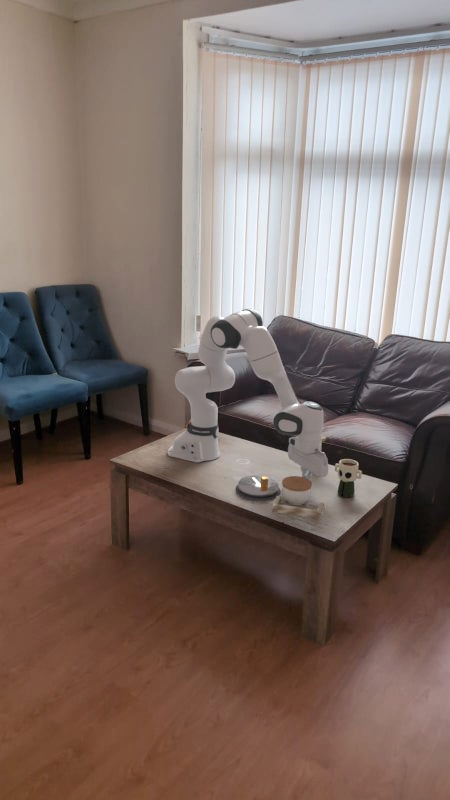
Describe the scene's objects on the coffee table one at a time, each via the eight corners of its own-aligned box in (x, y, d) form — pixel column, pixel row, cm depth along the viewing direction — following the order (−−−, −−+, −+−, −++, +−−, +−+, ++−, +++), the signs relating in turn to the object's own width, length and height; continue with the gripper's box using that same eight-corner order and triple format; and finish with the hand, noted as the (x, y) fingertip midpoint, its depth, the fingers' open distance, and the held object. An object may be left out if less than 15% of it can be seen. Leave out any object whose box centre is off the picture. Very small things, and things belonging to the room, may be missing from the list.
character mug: (328, 493, 232) (331, 461, 228) (337, 487, 238) (340, 455, 234) (354, 502, 226) (357, 469, 222) (363, 495, 231) (366, 463, 227)
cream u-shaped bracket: (272, 511, 217) (272, 505, 216) (276, 501, 224) (276, 495, 223) (320, 519, 212) (320, 513, 212) (323, 509, 220) (323, 502, 219)
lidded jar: (280, 506, 220) (281, 482, 218) (281, 493, 231) (283, 470, 228) (310, 509, 219) (312, 485, 216) (310, 496, 229) (312, 473, 226)
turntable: (232, 482, 237) (233, 465, 234) (268, 478, 241) (269, 462, 239) (246, 499, 223) (247, 482, 221) (284, 495, 228) (285, 477, 226)
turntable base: (230, 496, 227) (230, 495, 227) (241, 478, 242) (241, 477, 242) (275, 503, 222) (275, 503, 222) (284, 484, 238) (284, 483, 238)
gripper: (334, 453, 223) (330, 487, 227) (299, 434, 239) (296, 467, 243) (320, 456, 219) (316, 491, 224) (286, 436, 236) (283, 469, 240)
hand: (306, 478), depth 234 cm, fingers closed
